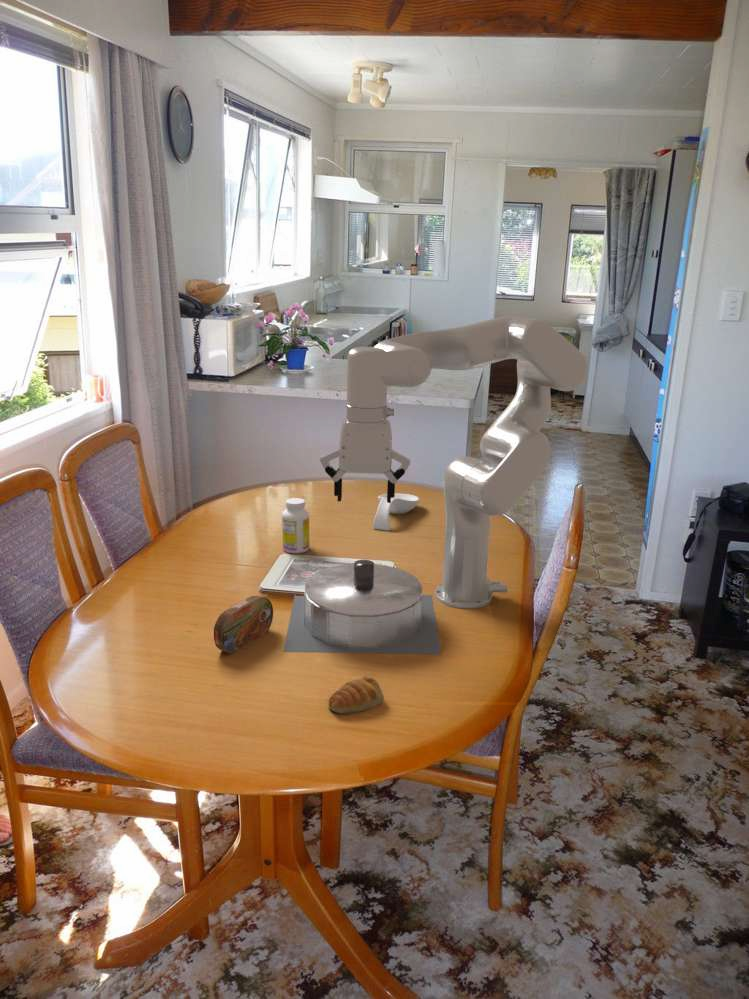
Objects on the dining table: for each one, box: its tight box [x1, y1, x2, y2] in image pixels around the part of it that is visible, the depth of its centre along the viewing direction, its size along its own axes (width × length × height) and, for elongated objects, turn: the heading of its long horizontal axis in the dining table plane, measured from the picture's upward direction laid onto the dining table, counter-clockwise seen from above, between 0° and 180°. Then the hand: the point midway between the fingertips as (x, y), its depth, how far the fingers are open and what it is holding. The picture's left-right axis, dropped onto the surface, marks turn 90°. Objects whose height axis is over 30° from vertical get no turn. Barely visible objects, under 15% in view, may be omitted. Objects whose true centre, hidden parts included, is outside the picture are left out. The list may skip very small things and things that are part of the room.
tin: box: [213, 595, 274, 655], centre depth 157 cm, size 15×3×8 cm, turn 148°
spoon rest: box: [372, 492, 420, 531], centre depth 228 cm, size 24×12×7 cm, turn 164°
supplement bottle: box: [281, 497, 310, 555], centre depth 202 cm, size 7×7×13 cm
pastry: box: [328, 675, 385, 715], centre depth 139 cm, size 9×7×4 cm
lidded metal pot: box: [303, 559, 424, 650], centre depth 165 cm, size 24×24×13 cm
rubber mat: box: [283, 594, 442, 655], centre depth 167 cm, size 30×26×1 cm
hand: (364, 500), depth 159 cm, fingers open, 9 cm apart
